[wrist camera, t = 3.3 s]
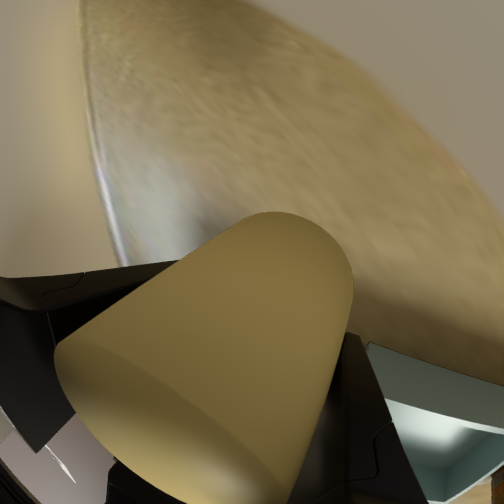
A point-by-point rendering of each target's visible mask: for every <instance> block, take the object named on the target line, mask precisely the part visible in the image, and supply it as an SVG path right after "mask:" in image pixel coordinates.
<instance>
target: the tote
mask: <svg viewBox="0 0 504 504" xmlns="http://www.w3.org/2000/svg"><path fill="white" fill-rule="evenodd" d="M366 353H367V355H368V357H369V360H370V362H371V365H372V367H373V370H374V372H375V375H376V377H377V380H378V382H379V385H380V388H381V390H382V393H383V395H384V398H385V401H386V403H387V406H388V409H389V411H390V414H391V417H392V419H393V421H392V422H394V425H395V427H396V430H397V433H398V435H399V438H400V441H401V443H402V446H403V448H404V451H405V453H406V455H407V457H408V460H409V462H410V464H411V466H412V468H413V471H414V473H415V475H416V477H417V479H418V481H419V484H420V486H421V488H422V490H423V492H424V495H425V497H426V499H427V501H428V503H433V504H447V503H449V502H450V501H452V500H454V499H455V498H457V497H458V496H460V495H462V494H463V493H465V492H466V491H468V490H469V489H471V488H472V487H474V486H475V485H477V484H478V483H480V482H481V481H482V480H484V479H485V478H487V477H488V476H489V475H491V474H492V473H493V472H495V471H496V470H497V469H499V468H500V467H501V466H502V465H504V387H503V386H500V385H497V384H493V383H490V382H487V381H483V380H480V379H477V378H474V377H470V376H467V375H464V374H461V373H458V372H455V371H451V370H448V369H445V368H442V367H439V366H436V365H433V364H430V363H427V362H424V361H421V360H418V359H415V358H412V357H409V356H407V355H404V354H401V353H398V352H395V351H392V350H389V349H387V348H384V347H381V346H378V345H375V344H373V343H370V342H369V344H368V346H367V348H366Z"/></svg>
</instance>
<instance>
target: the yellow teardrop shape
mask: <svg viewBox="0 0 504 504" xmlns="http://www.w3.org/2000/svg"><path fill="white" fill-rule="evenodd" d="M353 297H354V279H353V274H352V269H351V266H350V264H349V261H348V259H347V257H346V255H345V253H344V251H343V250H342V248H341V247H340V246H339V244H338V243H337V242H336V240H335V239H334V238H333V237H332V236H331V235H330V234H329V233H327V232H326V231H325V230H324V229H322V228H321V227H320V226H318V225H317V224H315V223H313V222H312V221H310V220H307V219H305V218H303V217H300V216H297V215H294V214H290V213H284V212H265V213H259V214H255V215H252V216H249V217H247V218H245V219H243V220H241V221H240V222H238V223H236V224H235V225H233V226H232V227H230V228H228V229H227V230H225V231H224V232H222V233H221V234H219V235H218V236H216V237H214V238H213V239H211V240H210V241H208V242H207V243H205V244H204V245H202V246H200V247H199V248H197V249H196V250H194V251H193V252H191V253H190V254H188V255H187V256H185V257H184V258H182V259H180V260H179V261H177V262H176V263H174V264H173V265H171V266H170V267H168V268H167V269H165V270H164V271H162V272H161V273H159V274H158V275H156V276H155V277H153V278H152V279H150V280H149V281H147V282H146V283H144V284H143V285H141V286H140V287H138V288H137V289H135V290H134V291H132V292H131V293H130V294H128V295H127V296H125V297H124V298H122V299H121V300H119V301H118V302H116V303H115V304H113V305H112V306H111V307H109V308H108V309H106V310H105V311H103V312H102V313H100V314H99V315H98V316H96V317H95V318H93V319H92V320H90V321H89V322H88V323H86V324H85V325H83V326H82V327H80V328H79V329H78V330H76V331H75V332H73V333H72V334H71V335H69V336H68V337H66V338H65V339H63V340H62V341H61V342H59V343H58V345H57V346H56V348H55V352H54V365H55V370H56V373H57V377H58V380H59V382H60V384H61V387H62V389H63V391H64V393H65V395H66V397H67V399H68V400H69V402H70V404H71V405H72V407H73V409H74V410H75V412H76V413H77V414H78V416H79V417H80V418H81V420H82V421H83V423H84V424H85V425H86V426H87V428H88V429H89V430H90V431H91V432H92V434H93V435H94V436H95V437H96V438H97V439H98V440H99V441H100V442H101V443H102V444H103V445H104V447H106V448H107V449H108V450H109V451H110V452H111V453H112V454H113V455H114V456H115V457H116V458H117V459H118V460H120V461H121V462H122V463H123V464H124V465H126V466H127V467H128V468H129V469H131V470H132V471H133V472H135V473H136V474H137V475H139V476H140V477H141V478H143V479H144V480H146V481H147V482H149V483H150V484H152V485H153V486H155V487H157V488H158V489H160V490H162V491H163V492H165V493H167V494H169V495H171V496H173V497H175V498H177V499H179V500H181V501H183V502H185V503H187V504H286V503H287V501H288V499H289V497H290V494H291V492H292V490H293V487H294V485H295V482H296V480H297V478H298V475H299V473H300V470H301V468H302V465H303V463H304V460H305V458H306V455H307V452H308V450H309V447H310V444H311V441H312V439H313V436H314V433H315V430H316V427H317V425H318V422H319V419H320V416H321V413H322V410H323V407H324V404H325V401H326V397H327V394H328V391H329V388H330V385H331V381H332V378H333V374H334V371H335V368H336V364H337V361H338V357H339V353H340V350H341V346H342V342H343V338H344V334H345V330H346V326H347V322H348V318H349V314H350V310H351V305H352V301H353Z"/></svg>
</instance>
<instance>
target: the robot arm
mask: <svg viewBox="0 0 504 504" xmlns="http://www.w3.org/2000/svg"><path fill="white" fill-rule="evenodd" d="M177 261H179V260H174V261H167V262H159V263H151V264H143V265H136V266H128V267H120V268H113V269H105V270H97V271H90V272H85V273H84V272H82V273H74V274H65V275H54V276H40V277H22V278H5V277H0V443H1V442H2V441H3V440H5V439H6V438H7V437H8V436H9V435H10V434H11V433H13V432H14V431H16V432H17V434H19V436H20V437H21V438H22V439H23V440H24V442H25V443H26V444H27V445H28V446H29V447H30V448H31V449H32V450H33V451H34V452H35V453H37V452H39V451H40V450H41V449H42V448H43V447H44V446H45V445H46V443H47V442H48V441H49V440H50V439H51V438H52V437H53V436H54V435H55V434H56V433H57V432H58V431H59V430H60V429H61V428H62V427H63V426H64V425H65V424H66V423H67V422H68V421H69V420H70V418H72V417H73V415H74V414H75V413H76V412H75V410H74V409H73V407H72V405H71V404H70V402H69V400H68V399H67V397H66V395H65V393H64V391H63V389H62V387H61V384H60V382H59V380H58V377H57V373H56V370H55V365H54V352H55V348H56V346H57V345H58V343H59V342H61V341H62V340H63V339H65V338H66V337H68V336H69V335H71V334H72V333H73V332H75V331H76V330H78V329H79V328H80V327H82V326H83V325H85V324H86V323H88V322H89V321H90V320H92V319H93V318H95V317H96V316H98V315H99V314H100V313H102V312H103V311H105V310H106V309H108V308H109V307H111V306H112V305H113V304H115V303H116V302H118V301H119V300H121V299H122V298H124V297H125V296H127V295H128V294H130V293H131V292H132V291H134V290H135V289H137V288H138V287H140V286H141V285H143V284H144V283H146V282H147V281H149V280H150V279H152V278H153V277H155V276H156V275H158V274H159V273H161V272H162V271H164V270H165V269H167V268H168V267H170V266H171V265H173V264H174V263H176V262H177ZM392 421H393V419H392V417H391V414H390V411H389V409H388V406H387V403H386V401H385V398H384V395H383V393H382V390H381V388H380V385H379V382H378V380H377V377H376V375H375V372H374V370H373V367H372V365H371V362H370V360H369V357H368V355H367V353H366V350H365V348H364V345H363V343H362V341H361V338H360V337H359V336H358V335H356V334H353V333H350V332H346V333H345V335H344V338H343V342H342V346H341V350H340V353H339V357H338V361H337V364H336V368H335V371H334V374H333V378H332V381H331V385H330V388H329V391H328V394H327V397H326V401H325V404H324V407H323V410H322V413H321V416H320V419H319V422H318V425H317V427H316V430H315V433H314V436H313V439H312V441H311V444H310V447H309V450H308V452H307V455H306V458H305V460H304V463H303V465H302V468H301V470H300V473H299V475H298V478H297V480H296V482H295V485H294V487H293V490H292V492H291V494H290V497H289V499H288V501H287V503H286V504H429V503H428V501H427V499H426V497H425V495H424V492H423V490H422V488H421V486H420V484H419V481H418V479H417V477H416V475H415V473H414V471H413V468H412V466H411V464H410V462H409V460H408V457H407V455H406V453H405V451H404V448H403V446H402V443H401V441H400V438H399V435H398V433H397V430H396V427H395V425H394V422H392ZM113 460H114V461H115V462H116V463H115V464H114V465H113V466H112V468H111V469H110V470H109V473H108V483H107V495H106V503H105V504H187V503H185V502H183V501H181V500H179V499H177V498H175V497H173V496H171V495H169V494H167V493H165V492H163V491H162V490H160V489H158V488H157V487H155V486H153V485H152V484H150V483H149V482H147V481H146V480H144V479H143V478H141V477H140V476H139V475H137V474H136V473H135V472H133V471H132V470H131V469H129V468H128V467H127V466H126V465H124V464H123V463H122V462H121V461H120V460H118V459H117V458H116V457H115V456H114V458H113ZM0 504H41V503H40V502H39V501H38V500H37V499H36V498H35V497H34V496H33V495H32V494H31V493H30V492H29V490H28V489H27V488H26V487H25V486H24V485H23V484H22V483H21V482H20V481H19V480H18V478H17V477H16V476H15V475H14V474H13V473H12V472H11V470H10V469H9V468H8V467H7V466H6V465H5V463H4V462H3V461H2V459H1V458H0Z"/></svg>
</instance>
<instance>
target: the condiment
mask: <svg viewBox="0 0 504 504" xmlns="http://www.w3.org/2000/svg"><path fill="white" fill-rule="evenodd" d="M489 476H490V477H489ZM489 476H488V477H487V478H485V479H484V480H482V481H481V482H480V483H478V484H477V485H483V484H489V483H491V489H492V490H491V491H492V496H491V499H492V500H491V501H492V504H504V465H502V466H501V467H500V468H499V469H497V470H496V471H495V472H493V473H492V474H491V475H489Z"/></svg>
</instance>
